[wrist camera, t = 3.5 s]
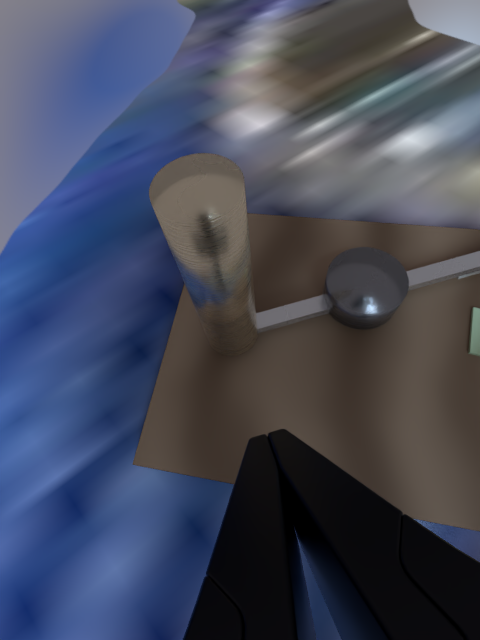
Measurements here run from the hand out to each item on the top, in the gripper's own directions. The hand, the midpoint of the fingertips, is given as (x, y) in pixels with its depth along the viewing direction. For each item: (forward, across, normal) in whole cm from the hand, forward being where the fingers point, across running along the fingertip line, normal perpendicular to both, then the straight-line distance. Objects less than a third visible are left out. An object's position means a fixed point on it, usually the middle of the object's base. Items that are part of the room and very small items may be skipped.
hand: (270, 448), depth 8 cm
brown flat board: (+12, -8, +5) cm, 15 cm away
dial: (+13, -8, +2) cm, 15 cm away
